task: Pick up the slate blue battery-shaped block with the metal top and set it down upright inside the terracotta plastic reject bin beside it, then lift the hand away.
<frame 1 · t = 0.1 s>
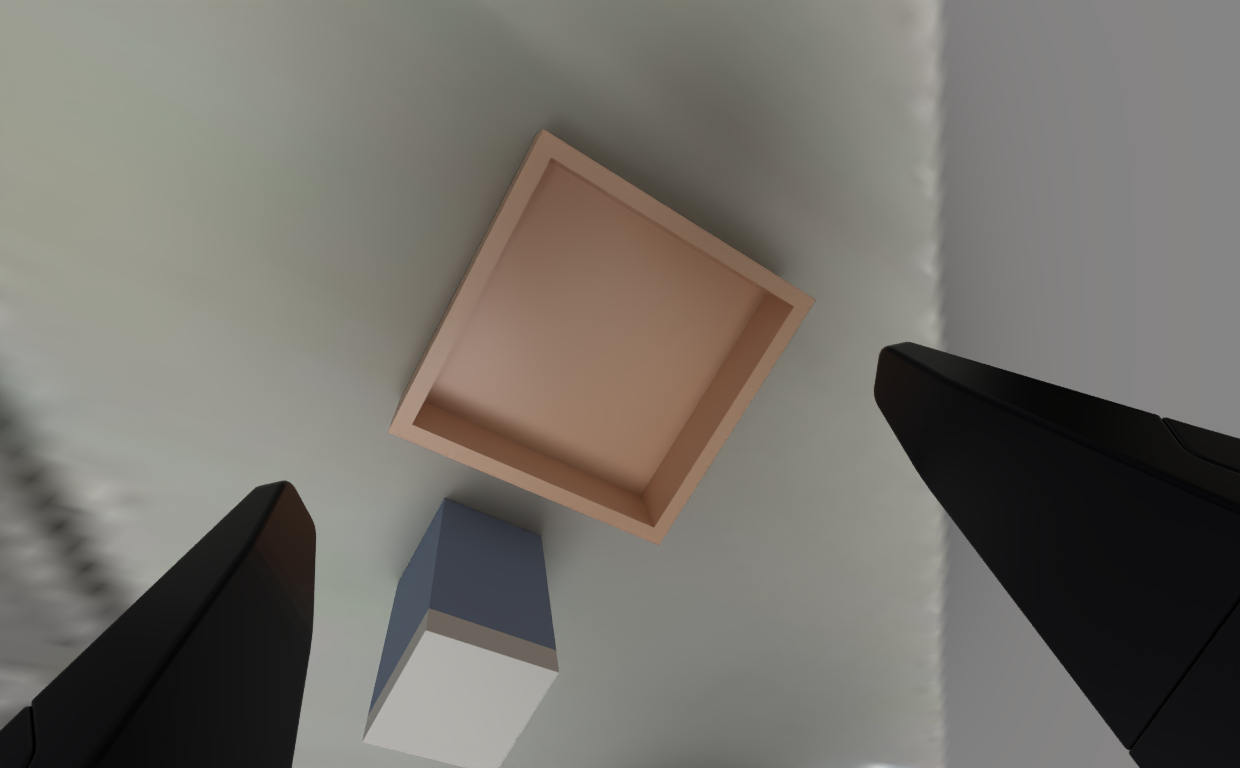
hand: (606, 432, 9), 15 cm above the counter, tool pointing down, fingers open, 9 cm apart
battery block: (470, 559, 27), on the counter
reject bin: (595, 341, 25), on the counter
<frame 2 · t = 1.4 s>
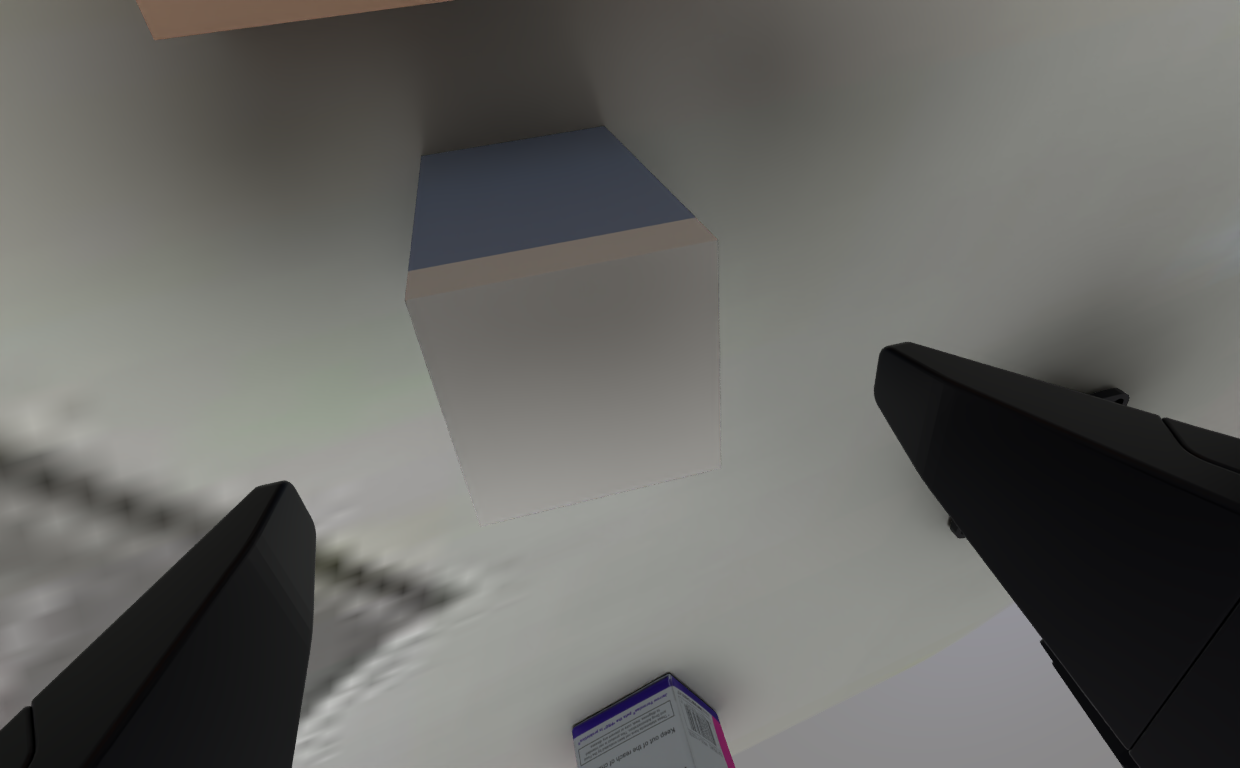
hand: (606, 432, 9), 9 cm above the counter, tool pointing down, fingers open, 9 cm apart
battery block: (531, 228, 17), on the counter
supplement box: (644, 717, 32), on the counter
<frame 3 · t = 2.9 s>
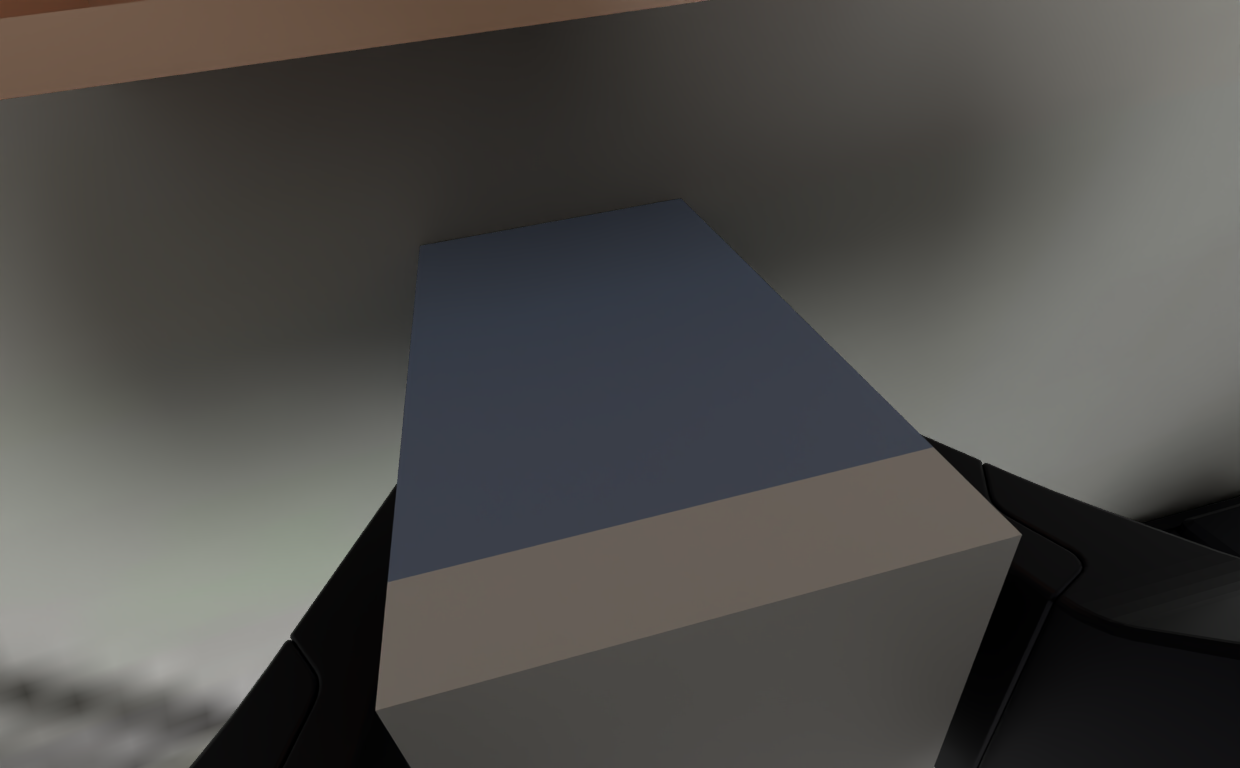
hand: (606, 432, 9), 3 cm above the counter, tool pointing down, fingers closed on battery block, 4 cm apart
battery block: (573, 335, 12), on the counter, touching gripper
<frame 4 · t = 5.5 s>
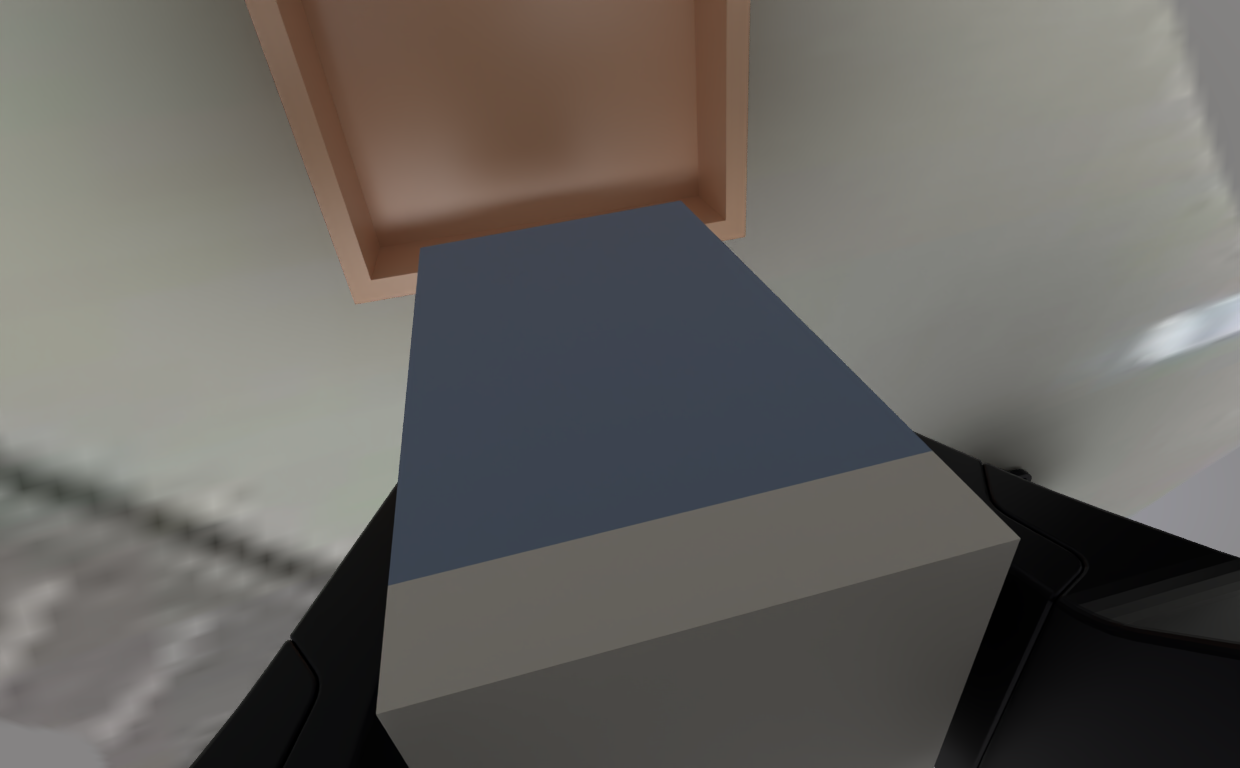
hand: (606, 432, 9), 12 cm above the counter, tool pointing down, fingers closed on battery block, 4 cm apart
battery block: (573, 337, 12), point 9 cm above the counter, touching gripper
reject bin: (513, 36, 17), on the counter
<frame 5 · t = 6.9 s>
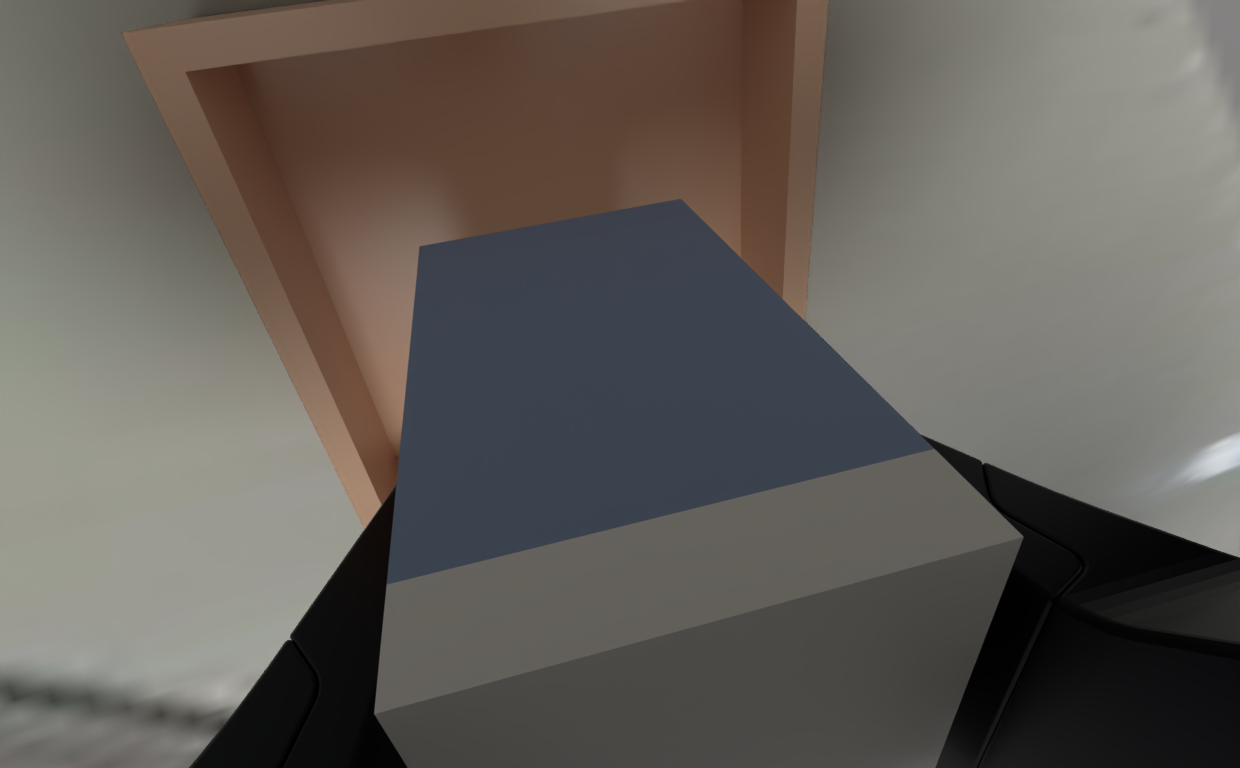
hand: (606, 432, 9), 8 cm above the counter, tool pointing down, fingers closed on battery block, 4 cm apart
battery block: (573, 336, 12), point 5 cm above the counter, touching gripper
reject bin: (541, 246, 16), on the counter
when the fingers open (5 cm above the counter, at t = 8.2 s): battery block drops 2 cm, resting on reject bin.
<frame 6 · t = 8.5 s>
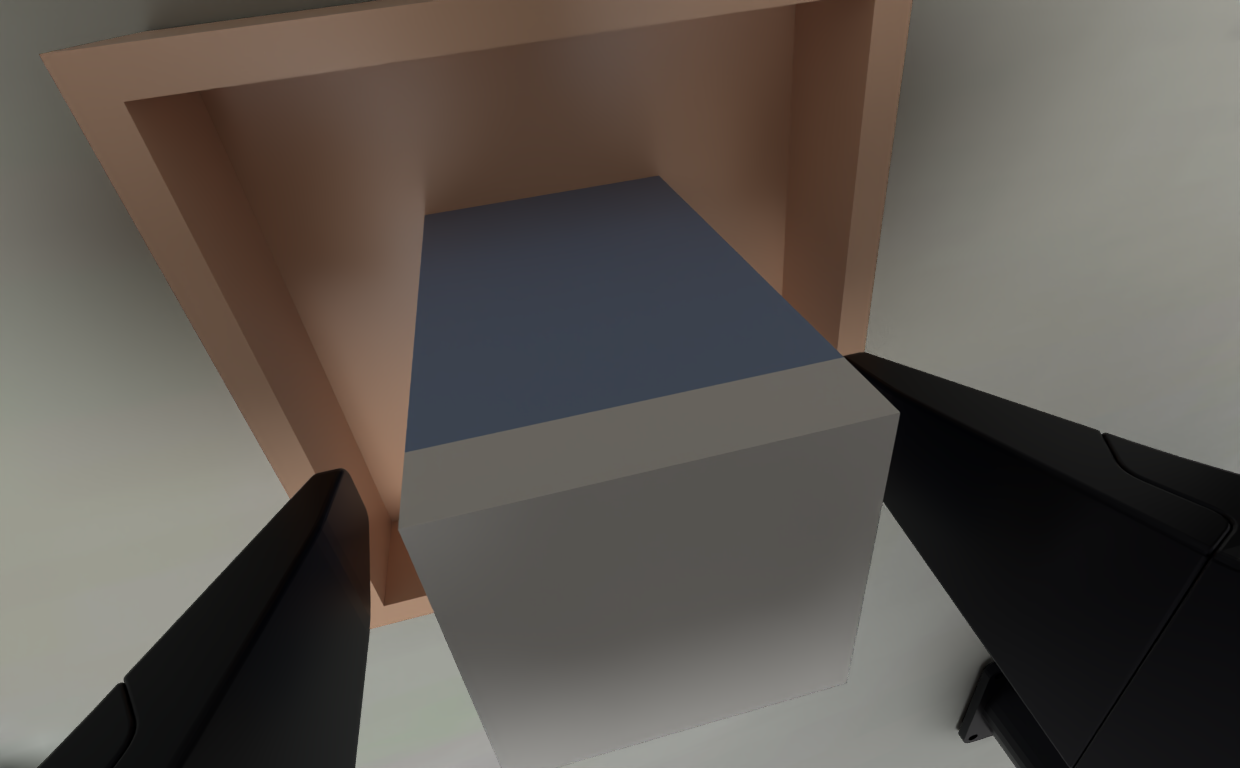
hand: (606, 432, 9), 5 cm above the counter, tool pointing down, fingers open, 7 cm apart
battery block: (562, 300, 13), point 1 cm above the counter, touching reject bin
reject bin: (556, 287, 14), on the counter
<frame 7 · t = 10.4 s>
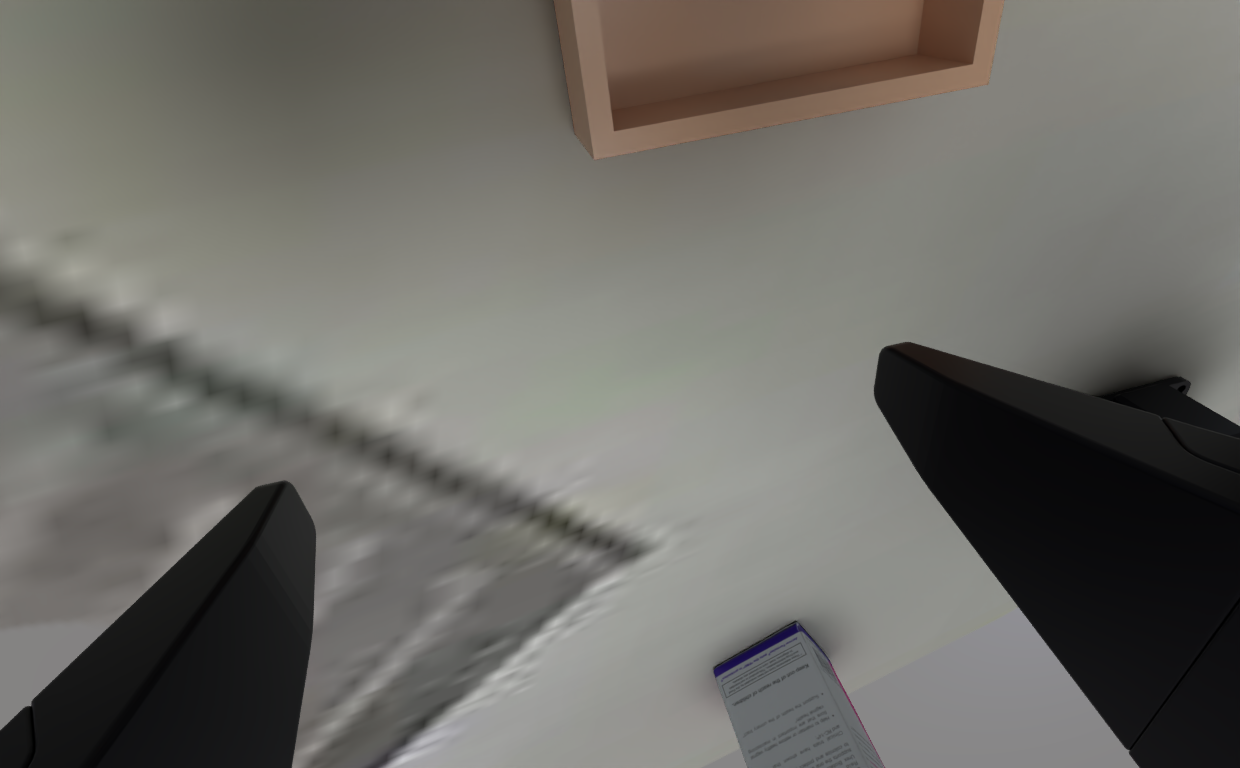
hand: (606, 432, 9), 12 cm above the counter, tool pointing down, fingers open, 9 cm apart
supplement box: (769, 661, 37), on the counter
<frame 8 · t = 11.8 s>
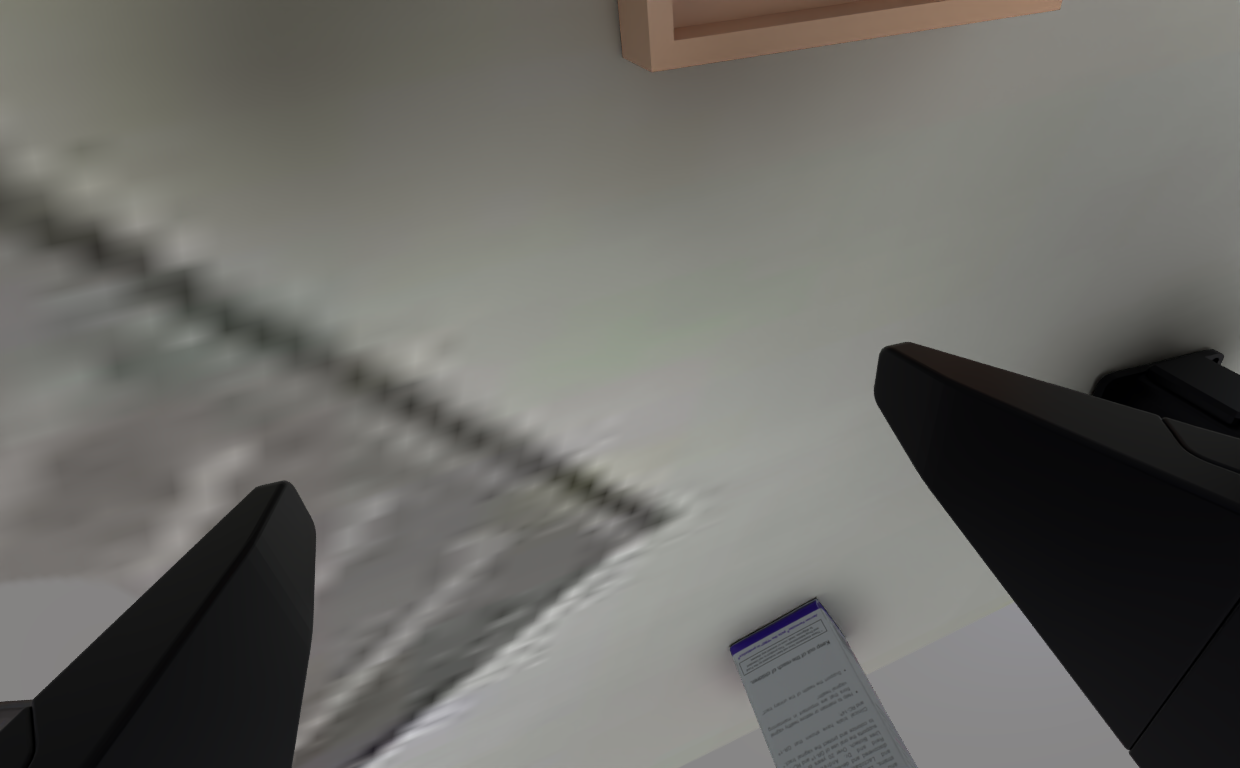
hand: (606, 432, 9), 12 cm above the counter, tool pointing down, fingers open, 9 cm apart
supplement box: (786, 641, 37), on the counter
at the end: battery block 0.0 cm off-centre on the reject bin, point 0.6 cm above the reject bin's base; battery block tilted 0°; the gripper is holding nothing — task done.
